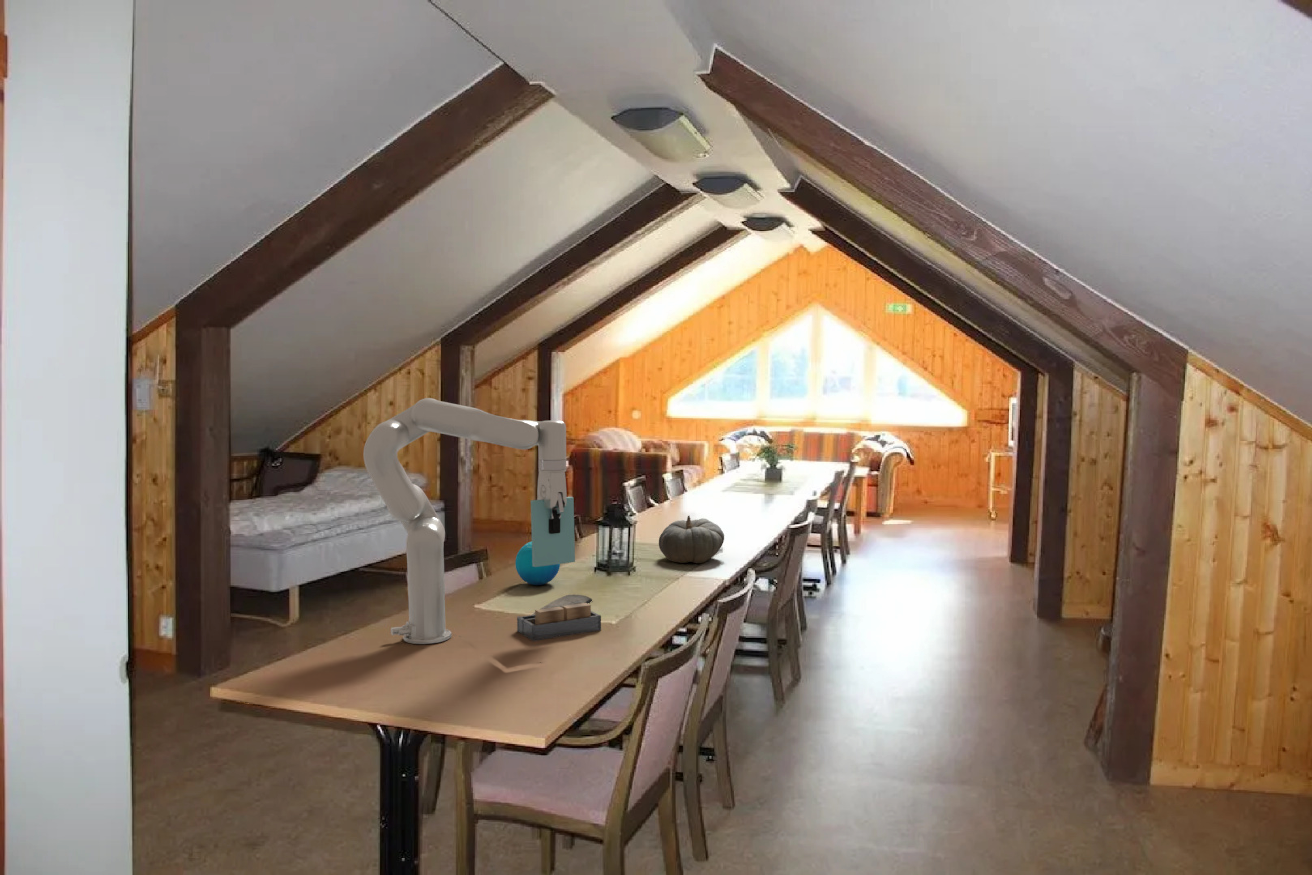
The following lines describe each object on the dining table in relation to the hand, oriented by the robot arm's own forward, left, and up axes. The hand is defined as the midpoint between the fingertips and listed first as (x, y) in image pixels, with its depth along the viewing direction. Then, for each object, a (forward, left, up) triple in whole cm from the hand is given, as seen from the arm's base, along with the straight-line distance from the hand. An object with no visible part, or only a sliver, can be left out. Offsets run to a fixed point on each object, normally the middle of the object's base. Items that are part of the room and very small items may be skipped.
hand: (553, 532), depth 258 cm
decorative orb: (+19, +56, -28) cm, 65 cm away
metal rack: (0, -3, -28) cm, 28 cm away
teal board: (0, 0, -9) cm, 9 cm away
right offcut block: (+4, -6, -27) cm, 28 cm away
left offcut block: (-4, -6, -27) cm, 28 cm away
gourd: (+85, +63, -28) cm, 110 cm away
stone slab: (+11, +19, -28) cm, 36 cm away
